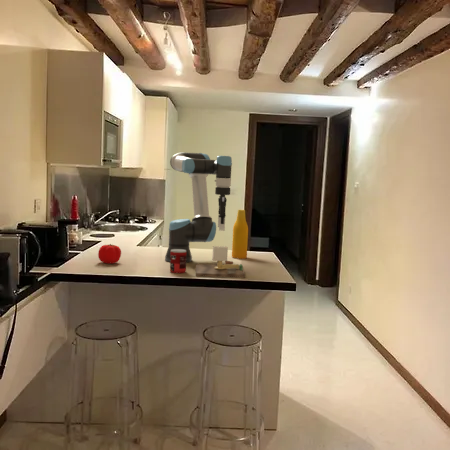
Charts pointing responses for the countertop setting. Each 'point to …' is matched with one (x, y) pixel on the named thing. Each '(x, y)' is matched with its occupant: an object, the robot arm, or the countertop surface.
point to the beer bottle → (240, 236)
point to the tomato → (109, 254)
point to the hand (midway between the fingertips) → (221, 228)
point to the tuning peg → (222, 257)
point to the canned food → (178, 261)
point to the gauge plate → (219, 271)
